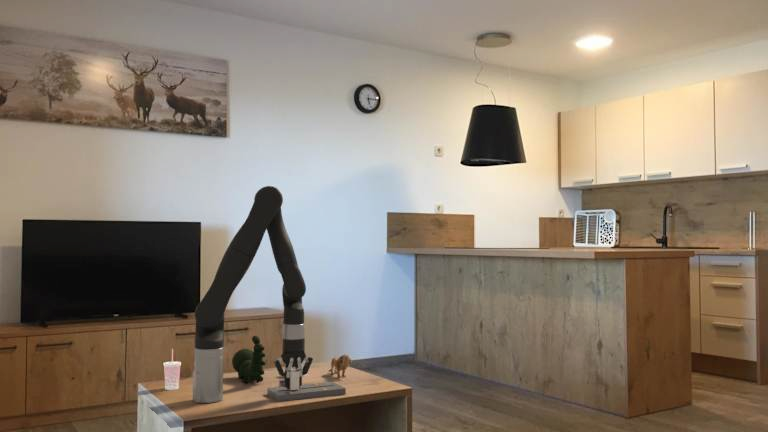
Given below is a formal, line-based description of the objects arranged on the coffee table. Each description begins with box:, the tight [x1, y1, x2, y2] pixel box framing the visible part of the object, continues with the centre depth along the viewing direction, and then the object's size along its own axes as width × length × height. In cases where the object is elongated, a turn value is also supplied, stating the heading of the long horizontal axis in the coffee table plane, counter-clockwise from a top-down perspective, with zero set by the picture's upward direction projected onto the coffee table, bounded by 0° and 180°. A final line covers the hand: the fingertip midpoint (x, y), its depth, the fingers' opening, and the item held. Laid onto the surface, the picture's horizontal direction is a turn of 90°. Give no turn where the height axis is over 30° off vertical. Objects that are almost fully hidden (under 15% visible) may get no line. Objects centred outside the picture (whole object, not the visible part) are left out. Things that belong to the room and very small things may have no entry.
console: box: [266, 381, 347, 403], centre depth 228 cm, size 24×12×2 cm, turn 117°
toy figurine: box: [231, 335, 266, 384], centre depth 250 cm, size 9×19×25 cm
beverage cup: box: [163, 348, 182, 391], centre depth 236 cm, size 6×6×14 cm
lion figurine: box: [328, 354, 353, 379], centre depth 259 cm, size 15×5×9 cm, turn 36°
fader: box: [289, 369, 299, 390], centre depth 226 cm, size 3×4×8 cm
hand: (293, 387), depth 226 cm, fingers closed on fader, 3 cm apart
